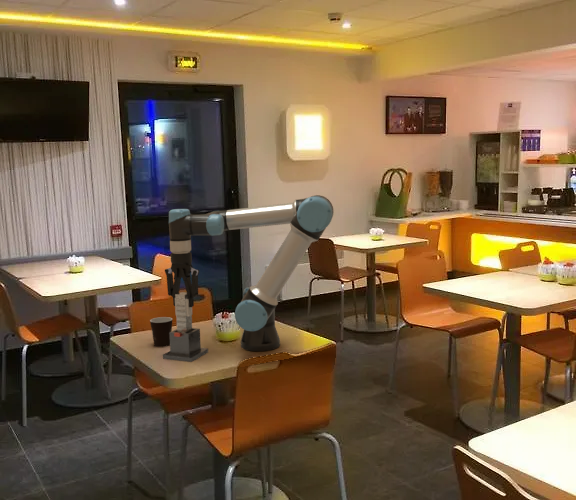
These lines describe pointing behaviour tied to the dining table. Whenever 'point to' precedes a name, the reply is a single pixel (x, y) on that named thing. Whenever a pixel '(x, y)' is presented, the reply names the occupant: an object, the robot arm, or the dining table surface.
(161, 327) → the coffee mug
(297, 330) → the dining table surface
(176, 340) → the stand base
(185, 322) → the column
